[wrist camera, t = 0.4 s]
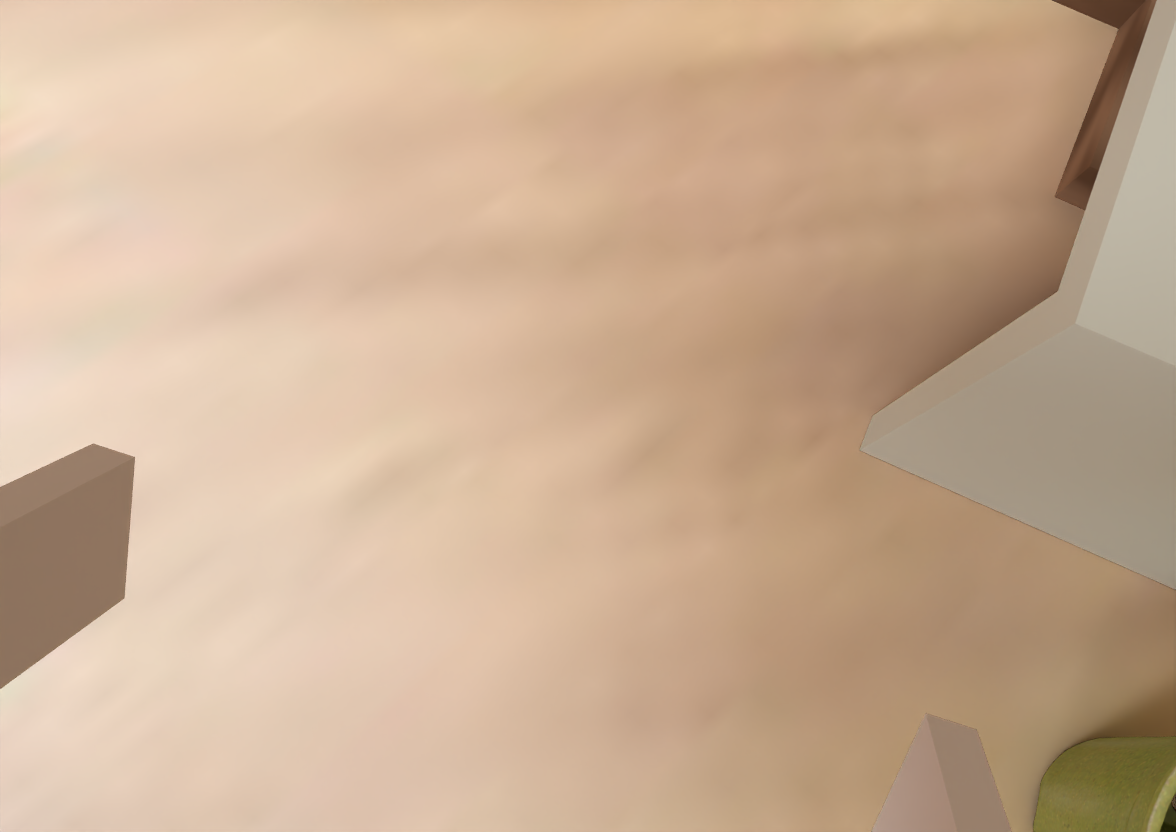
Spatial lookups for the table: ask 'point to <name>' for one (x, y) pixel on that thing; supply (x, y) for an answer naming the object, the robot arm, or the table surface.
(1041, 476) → the nook
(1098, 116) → the crook
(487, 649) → the table surface
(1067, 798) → the plant pot
